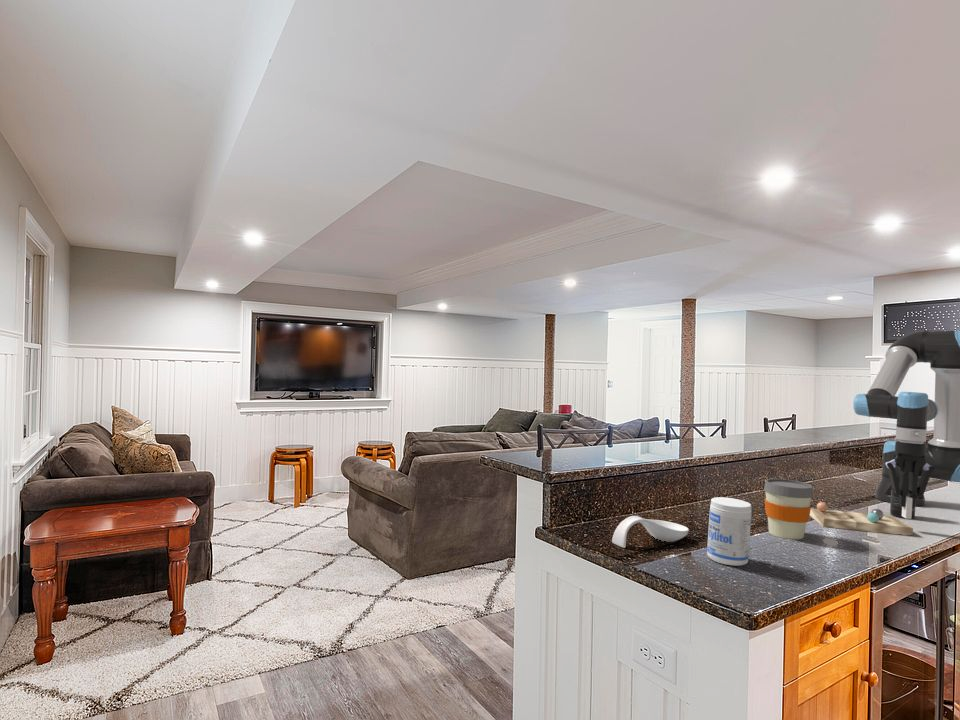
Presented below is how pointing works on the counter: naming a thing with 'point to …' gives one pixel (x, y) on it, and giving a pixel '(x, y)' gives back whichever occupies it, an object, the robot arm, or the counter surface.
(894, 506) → the supplement bottle
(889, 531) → the maple board
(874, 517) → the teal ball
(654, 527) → the spoon rest
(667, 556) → the counter surface
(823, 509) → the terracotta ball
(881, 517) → the steel ball
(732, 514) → the supplement tub
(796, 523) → the reusable coffee cup
